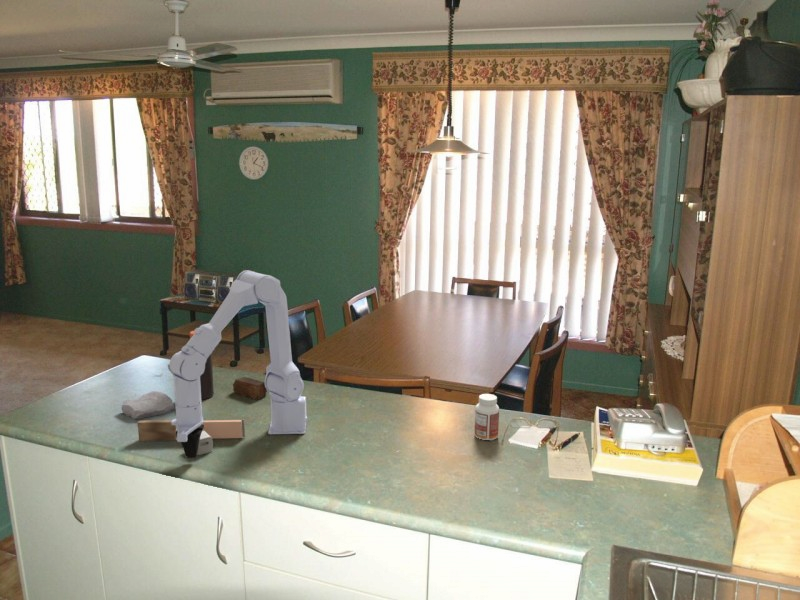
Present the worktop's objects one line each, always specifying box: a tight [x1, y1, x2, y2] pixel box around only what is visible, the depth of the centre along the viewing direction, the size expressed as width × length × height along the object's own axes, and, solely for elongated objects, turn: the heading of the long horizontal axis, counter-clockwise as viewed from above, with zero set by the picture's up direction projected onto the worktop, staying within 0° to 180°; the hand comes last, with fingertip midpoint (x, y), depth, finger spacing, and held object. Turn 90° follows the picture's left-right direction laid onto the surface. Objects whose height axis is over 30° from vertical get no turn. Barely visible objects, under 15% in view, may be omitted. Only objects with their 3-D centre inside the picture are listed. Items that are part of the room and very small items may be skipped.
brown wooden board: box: [137, 419, 177, 442], centre depth 157 cm, size 9×1×5 cm, turn 95°
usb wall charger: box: [197, 431, 214, 456], centre depth 153 cm, size 4×7×4 cm, turn 39°
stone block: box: [121, 390, 175, 420], centre depth 175 cm, size 12×5×10 cm
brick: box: [232, 376, 268, 401], centre depth 188 cm, size 11×4×5 cm, turn 56°
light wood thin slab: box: [202, 418, 246, 439], centre depth 158 cm, size 17×1×5 cm, turn 95°
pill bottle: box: [474, 393, 500, 441], centre depth 162 cm, size 6×6×11 cm
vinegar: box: [189, 330, 215, 401], centre depth 185 cm, size 7×7×20 cm
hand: (191, 456), depth 146 cm, fingers closed
